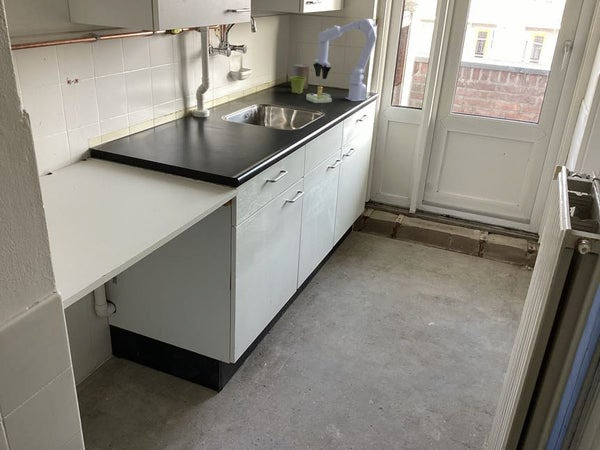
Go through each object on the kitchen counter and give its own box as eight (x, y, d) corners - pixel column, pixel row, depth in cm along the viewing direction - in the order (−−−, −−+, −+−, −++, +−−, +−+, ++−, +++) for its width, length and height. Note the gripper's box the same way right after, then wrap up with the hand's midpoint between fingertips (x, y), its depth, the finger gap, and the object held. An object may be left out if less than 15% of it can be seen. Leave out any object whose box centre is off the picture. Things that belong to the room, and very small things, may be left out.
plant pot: (306, 94, 313) (307, 79, 309) (291, 94, 310) (291, 79, 307) (302, 91, 321) (303, 76, 317) (287, 91, 318) (288, 76, 315)
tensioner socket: (325, 95, 313) (325, 93, 312) (330, 97, 308) (330, 95, 307) (316, 96, 310) (316, 93, 309) (321, 98, 305) (321, 95, 305)
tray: (323, 98, 305) (323, 95, 304) (331, 102, 298) (331, 98, 297) (306, 99, 300) (306, 96, 299) (314, 103, 293) (314, 99, 292)
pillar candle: (310, 87, 331) (312, 63, 325) (303, 90, 324) (304, 64, 317) (297, 85, 336) (298, 61, 329) (289, 87, 328) (290, 62, 322)
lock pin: (319, 98, 301) (320, 86, 298) (322, 100, 298) (323, 87, 295) (315, 99, 299) (316, 86, 296) (318, 100, 297) (319, 87, 294)
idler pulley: (314, 95, 311) (314, 92, 310) (320, 98, 305) (320, 94, 305) (303, 96, 308) (304, 92, 307) (309, 98, 302) (310, 95, 301)
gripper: (310, 51, 308) (309, 75, 314) (323, 55, 297) (321, 80, 302) (321, 51, 311) (319, 75, 317) (334, 55, 300) (332, 79, 306)
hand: (321, 77), depth 310 cm, fingers open, 7 cm apart
